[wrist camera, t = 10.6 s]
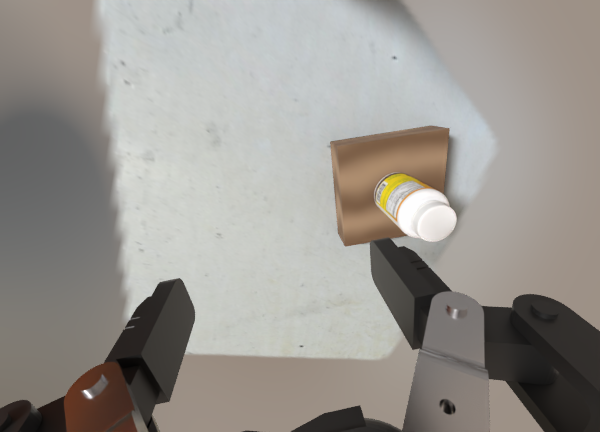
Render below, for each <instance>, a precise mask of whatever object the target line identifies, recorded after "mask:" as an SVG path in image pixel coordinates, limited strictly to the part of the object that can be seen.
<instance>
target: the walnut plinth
mask: <svg viewBox="0 0 600 432" xmlns="http://www.w3.org/2000/svg"><path fill="white" fill-rule="evenodd" d="M448 139H449V128H443V127H437V126H426V127H419V128H413V129H407V130H400V131H394V132H388V133H382V134H375V135H369V136H363V137H356V138H350V139H344V140H337V141H331V142H330V144H331V155H332V167H333V178H334V190H335V201H336V213H337V224H338V234H339V236H340V238H341V240H342V241H343V243H344V245H345V246H351V245H356V244H362V243H367V242H371V241H372V240H377V239H382V238H387V237H389V238H395V237H401V236H407V234H405V233H404V232H403V231H402V230H401V229H400V228H399V227H398V226H397V225H396V224H395V223H394V222H393V221H392V220H391V219H390V218H389V217H388V216H386V215H385V214H384V213H383V212H382V211H381V210H380V209H379V208H378V206H377V205H376V203H375V199H374V192H375V188H376V186H377V184H378V183H379V181H380V180H381V179H382V178H384V177H385V176H387V175H388V174H391V173H395V172H401V173H405V174H407V175H409V176H411V177H413V178H415V179H417V180H419V181H421V182H422V183H424V184H426V185H428V186H430V187H432V188H434V189H436V190H438V191H439V192H441V193H442V194H444V183H445V172H446V161H447V150H448Z"/></svg>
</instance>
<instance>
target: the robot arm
mask: <svg viewBox="0 0 600 432" xmlns="http://www.w3.org/2000/svg"><path fill="white" fill-rule="evenodd" d="M370 256H371V272H372V277H373V280H374V283H375V285H376V287H377V289H378V290H379V292H380V294H381V296H382V297H383V299H384V301H385V303H386V304H387V306H388V308H389V309H390V311H391V313H392V315H393V316H394V318H395V320H396V322H397V323H398V325H399V327H400V329H401V330H402V332H403V334H404V336H405V337H406V339H407V341H408V342H409V344H410V346H411V348H412V349H413V350H414V349H419V348H420V350H419V353H418V359H417V363H416V367H415V372H414V377H413V382H412V386H411V391H410V396H409V401H408V405H407V410H406V415H405V420H404V424H403V429H402V430H400V429H398V428H396V427H394V426H392V425H391V424H388V423H385V422H382V421H379V420H375V419H369V418H364V417H363V413H362V410H361V407H360V406H355V407H351V408H347V409H342V410H338V411H333V412H328V413H324V414H322V415H320V416H319V417H317V418H315V419H313V420H311V421H309V422H307V423H306V424H304V425H302V426H300V427H298V428H296V429H295V430H293V431H291V432H490V412H489V379H494V380H503V381H506V382H507V384H508V385H509V386H510V388H511V389H512V390H513V392H514V393H515V394H516V395H517V397H518V398H519V399H520V401H521V402H522V403H523V405H524V406H525V407H526V408H527V410H528V411H529V412H530V414H531V415H532V416H533V418H534V419H535V420H536V422H537V423H538V424H539V425H540V427H541V428H542V429H543V431H544V432H600V331H599V330H597V329H596V328H595V327H593V326H592V325H591V324H589V323H588V322H587V321H585V320H584V319H583V318H581V317H580V316H579V315H577V314H576V313H575V312H574V311H572V310H571V309H570V308H568V307H567V306H565V305H564V304H562V303H560V302H558V301H556V300H554V299H551V298H548V297H545V296H541V295H534V294H526V295H521V296H518V297H517V298H515V300H514V301H513V305H512V308H508V307H487V306H481V305H480V304H479V303H478V302H477V301H476V300H474V299H473V298H471V297H469V296H467V295H465V294H462V293H458V292H452V291H451V290H450V289H449V287H447V285H446V284H445V283H444V282H443V281H442V280H441V279H440V278H439V277H438V276H437V275H436V274H435V273H434V272H433V271H432V269H431V268H429V267H428V265H427V264H426V263H425V262H424V261H422V259H421V258H420V257H419V256H418V255H417V254H416V253H415V252H414V251H412V250H410V249H408V248H406V247H404V246H403V247H397V246H396V245H395V243H394V242H393V241H392V240H391V239H390V238H389V237H387V238H382V239H377V240H372V241H371V242H370ZM194 321H195V310H194V306H193V304H192V301H191V299H190V297H189V294H188V292H187V290H186V287H185V285H184V283H183V281H182V280H181V279H180V278H178V279H173V280H168V281H163V282H160V283H159V284H158V285H157V287H156V289H155V291H154V293H153V294H152V296H151V297H147V298H146V299H145V300H144V301H143V302H142V303H141V304H140V305H139V306H138V307H137V309H136V310H135V312H134V313H133V315H132V317H131V320H129V322H128V323H127V325H126V327H125V330H123V332H122V333H121V335H120V337H119V339H118V340H117V342H116V343H115V345H114V347H113V348H112V350H111V352H110V353H109V355H108V357H107V358H106V360H105V362H104V363H103V364H100V365H97V366H95V367H93V368H92V369H90V370H88V371H87V372H85V373H84V374H83V375H82V376H80V377H79V378H78V379H77V380H76V382H74V383H73V385H72V386H71V387H70V388H69V390H68V392H67V394H66V396H64V397H61V398H59V399H57V400H55V401H53V402H51V403H49V404H46V405H44V406H42V407H40V408H38V409H36V408H35V407H34V406H33V405H32V404H31V403H30V402H29V401H27V400H20V401H16V402H13V403H10V404H8V405H6V406H4V407H2V408H1V409H0V432H160V430H159V427H158V425H157V423H156V420H155V418H154V416H153V415H152V413H153V409H154V407H155V405H156V404H160V403H165V402H169V401H170V398H171V395H172V391H173V388H174V385H175V382H176V379H177V375H178V372H179V369H180V365H181V362H182V359H183V356H184V353H185V350H186V347H187V344H188V340H189V337H190V334H191V331H192V328H193V324H194ZM243 432H257V431H243Z"/></svg>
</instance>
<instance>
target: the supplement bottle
mask: <svg viewBox="0 0 600 432" xmlns="http://www.w3.org/2000/svg"><path fill="white" fill-rule="evenodd" d="M374 199H375V203H376V205H377V206H378V208H379V209H380V210H381V211H382V212H383V213H384V214H385V215H386V216H388V217H389V218H390V219H391V220H392V221H393V222H394V223H395V224H396V225H397V226H398V227H399V228H400V229H401V230H402V231H403V232H404V233H405V234H407V235H408V236H410V237H414V238H422V239H423V240H425V241H429V242H436V241H440V240H442V239H444V238H446V237H447V236H448V235H449V234H450V233H451V232H452V231H453V229H454V227H455V225H456V221H457V217H456V213H455V212H454V210H453V209H452V208H451V207H450V205H449V202H448V199H447V198H446V196H445V195H444V194H442V193H441V192H439V191H438V190H436V189H434V188H432V187H430V186H428V185H426V184H424V183H422V182H421V181H419V180H417V179H415V178H413V177H411V176H409V175H407V174H405V173H401V172H395V173H391V174H388V175H387V176H385V177H384V178H382V179H381V180H380V181H379V183H378V184H377V186H376V188H375V192H374Z"/></svg>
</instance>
